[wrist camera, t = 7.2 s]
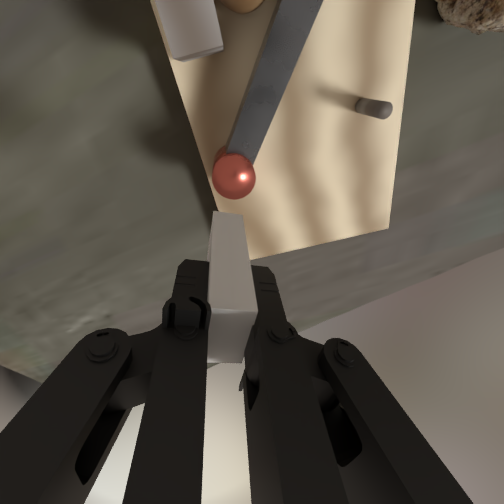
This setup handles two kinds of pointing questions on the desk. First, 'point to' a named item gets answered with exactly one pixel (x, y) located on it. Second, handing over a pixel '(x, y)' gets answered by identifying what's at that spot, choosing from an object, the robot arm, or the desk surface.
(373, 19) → the board
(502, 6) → the rock
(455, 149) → the desk surface
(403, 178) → the desk surface
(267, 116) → the lever
